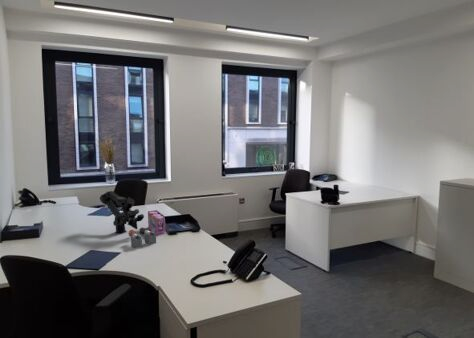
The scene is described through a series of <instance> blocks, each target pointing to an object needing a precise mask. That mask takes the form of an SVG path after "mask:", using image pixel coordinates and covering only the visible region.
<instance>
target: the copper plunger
mask: <svg viewBox="0 0 474 338" xmlns="http://www.w3.org/2000/svg"><path fill="white" fill-rule="evenodd" d="M127 235H128V236H129V237H130V238H131V236H132V235H133V236H134V237H135V238H137V237H138V234H137V232H136V230H134V229H130V230H129V231H128V233H127Z"/></svg>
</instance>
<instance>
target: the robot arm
mask: <svg viewBox="0 0 474 338" xmlns="http://www.w3.org/2000/svg"><path fill="white" fill-rule="evenodd" d="M99 200H100V202H101V203H102V204H104V205H106V206H107V208H108V209H109V210H110V212H111V213H112V215H113V216H114V220H113V226H115V232H114V234H121V235H122V234H124V233H126V232H127V230H126V226H125V225H128V226H130V227H132V228H134V229H135V230H138V222H141V221H142V220H143V219H144V218H145V215H144V214H143V213H141V214H139V213H140V210H139V208H136V209H134V210H132V208H133V207H134V205H135V203H136V202H135V199H133V198H131V197H130V196H129V197H127V198H126V197H124V196H119V194H117V193H116V192H114V191H113V190H111V191H106V192H105V193H103V194H101V195H100V197H99ZM112 200H113V201H112ZM114 202H115V203H116V204H114ZM116 205H117V206H118V207H121V209H120V210H119V209H118V207H117V206H116ZM120 211H121V212H120Z"/></svg>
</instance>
